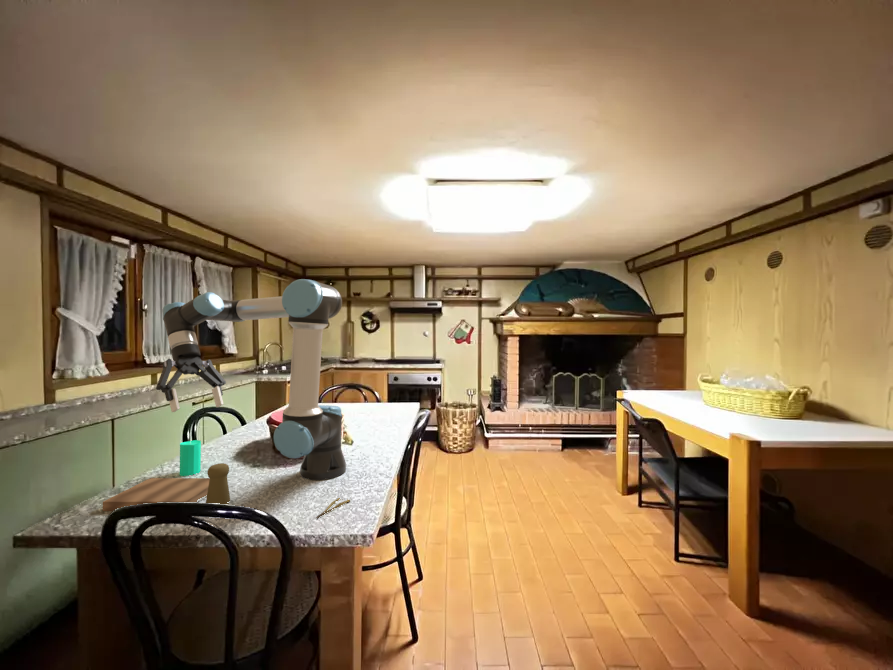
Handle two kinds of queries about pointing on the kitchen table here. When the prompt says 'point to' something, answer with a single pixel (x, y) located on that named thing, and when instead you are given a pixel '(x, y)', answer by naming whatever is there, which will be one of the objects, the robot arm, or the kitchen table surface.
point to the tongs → (333, 507)
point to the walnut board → (160, 492)
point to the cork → (218, 484)
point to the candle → (190, 457)
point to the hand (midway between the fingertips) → (199, 408)
